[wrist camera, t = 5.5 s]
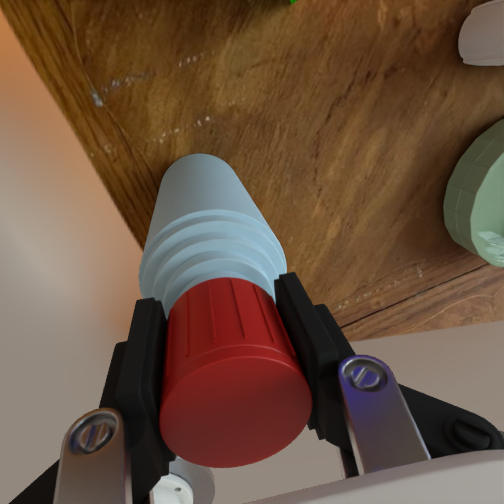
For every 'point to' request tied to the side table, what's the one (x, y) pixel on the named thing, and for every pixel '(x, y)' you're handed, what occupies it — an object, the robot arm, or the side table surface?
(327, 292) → the side table surface
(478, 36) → the photo printer
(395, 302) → the side table surface
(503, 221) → the dish
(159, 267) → the bottle
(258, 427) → the cap
